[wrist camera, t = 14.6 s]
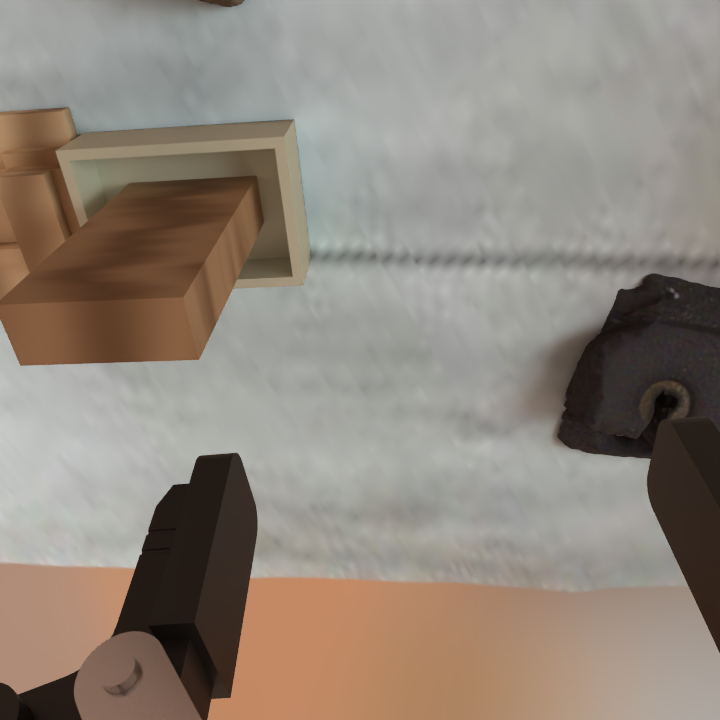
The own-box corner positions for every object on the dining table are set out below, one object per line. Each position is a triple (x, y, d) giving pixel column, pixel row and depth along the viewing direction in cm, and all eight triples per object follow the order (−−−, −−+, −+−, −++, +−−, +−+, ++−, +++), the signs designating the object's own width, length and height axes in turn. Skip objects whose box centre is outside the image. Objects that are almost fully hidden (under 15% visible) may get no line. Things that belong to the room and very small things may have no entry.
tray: (294, 119, 38) (284, 136, 35) (310, 258, 43) (303, 285, 40) (84, 132, 39) (55, 150, 36) (124, 267, 44) (101, 293, 41)
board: (256, 175, 39) (183, 297, 26) (264, 222, 41) (198, 359, 27) (130, 182, 40) (-6, 304, 26) (142, 228, 41) (20, 365, 28)
